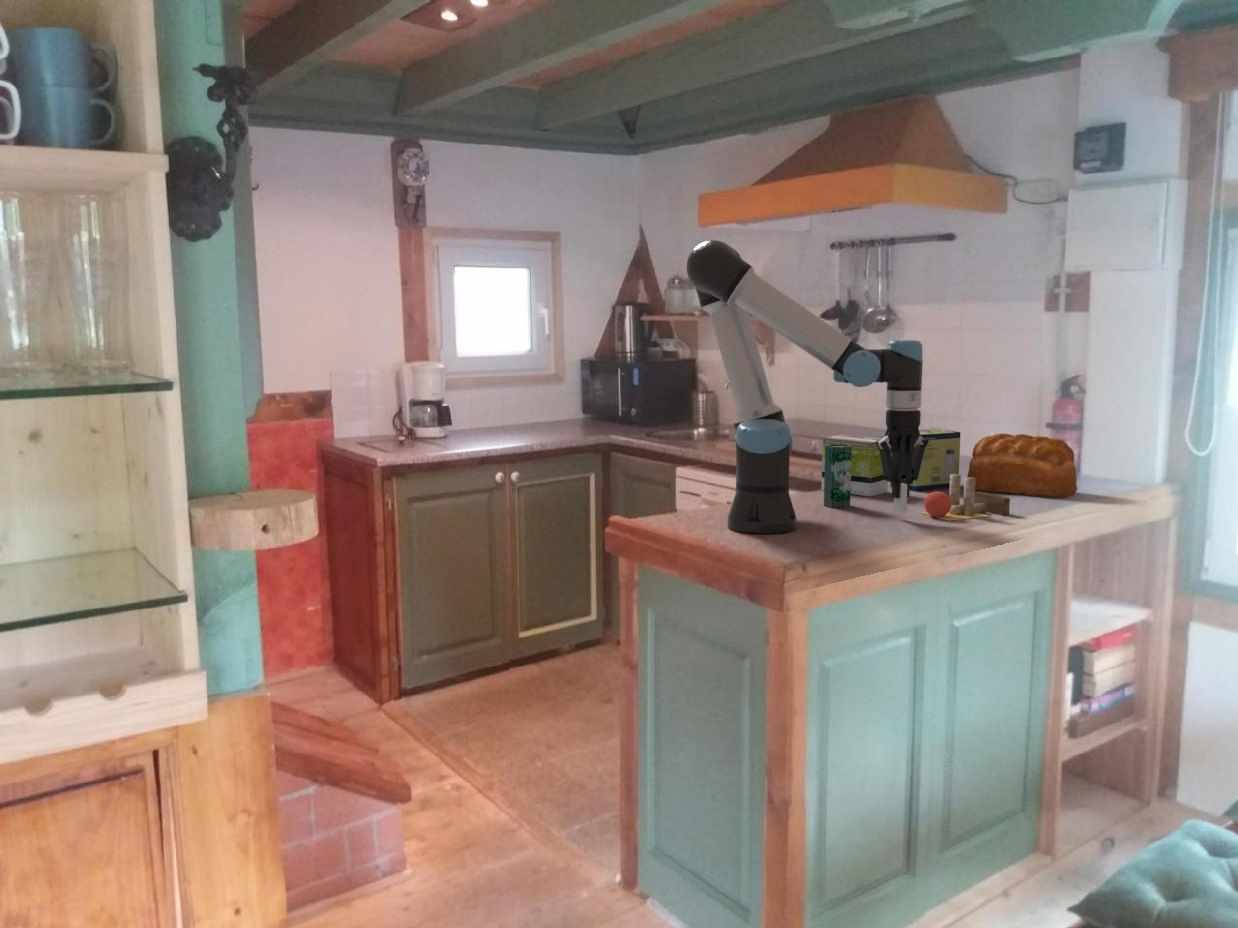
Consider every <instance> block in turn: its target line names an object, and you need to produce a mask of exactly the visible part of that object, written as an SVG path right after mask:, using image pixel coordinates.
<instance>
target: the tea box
mask: <svg viewBox="0 0 1238 928" xmlns="http://www.w3.org/2000/svg"><path fill="white" fill-rule="evenodd" d="M883 438H884V437H881V438H880V437H873V436H863V435H862V436H861V435H850V434H837V435H833V436H827V437H822V450H821V451H822V454H821V455H822V457H821V459H822V461H821V491H824V478H825V445H829V444H845V445H851V446H852V455H851V494H850V495H857V496H862V497H873V496H878V495H882V494H884V493H887V492H888V487H889V482H888V481H885V479H884V474H883V468H882V462H881V457H880V451H879V449H878V447H877V445H876V441H877V440H882V439H883Z"/></svg>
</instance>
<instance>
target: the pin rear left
mask: <svg viewBox="0 0 1238 928" xmlns="http://www.w3.org/2000/svg"><path fill="white" fill-rule="evenodd" d="M961 476H962V475H961V474H959V475H957V474H951V475H950V488H948V489H949V493H948V496H949V498H950V500H951V506H953V505H961V504H960V501H961V500H960V498H961V481H962V480H961V478H962V477H961Z"/></svg>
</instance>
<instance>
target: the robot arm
mask: <svg viewBox="0 0 1238 928" xmlns="http://www.w3.org/2000/svg"><path fill="white" fill-rule="evenodd" d="M686 273H687V277H688V279H689V281H690V283H691V284H692V285H693V286H694V287H695V291H696V294H697V297H698V303H699V304H700V309H702V310H703V311H704V312H706V313H708V314H709V316H710V319H711V323H712V326H713V331H714V335H715V336H716V342H717V345H718V349H719V352H720V355H721V359H722V362H723V366H724V369H725V373H726V376H727V381H728V384H729V387H730V391H731V394H732V395H731V396H732V398H733V402H734V406H735V408H736V412H737V413H736V416H735V418H734V420H733V421H732V422H733V423H732V424H733V426H734V430H735V433H736V434H735V443H736V445H735V446H736V447H735V448H736V449H735V450H736V453H735V456H736V457H735V461H736V462H735V464H736V465H735V468H736V469H735V475H736V476H735V495H734V497H733V501H732V503H731V507H730V509H729V512H728V515H727V528H728V529H730V530H732V531H736V532H741V533H747V534H748V533H749V534H761V535H762V534H763V535H764V534H768V535H769V534H771V535H772V534H782V533H784V534H785V533H789V532H791V531H792V532H793V531H795V530H796V529H797V522H798V521H797V516H796V511H795V509H794V506H793V502H792V499H791V497H790V496H791V495H790V463H791V462H790V459H791V454H792V452H793V437H792V434H791V429H790V426H789V424H788V423H786V419H785V416H784V412H783V409H782V407H780V406H779V405H776V404H775V403H774V401H773V397H772V394H771V390H770V386H769V383H768V379H767V376H766V371H765V369H764V364H763V360H762V358H761V353H760V350H759V348H758V342H757V339H756V336H755V331H754V328H753V326H752V325H753V324H752V321H751V318H750V315H751V316H752V317H754V318H755V319H757V320H758V321H760V322H761V323H762V324H764V325H766V326H767V327H769V328H770V329H772V330H773V331H774V332H776V333H778V334H779V335H781V336H782V337H783V338H785V339H786V340H788V341H789V342H790V343H792V344H793V345H795V346H796V347H797V348H800V349H801V350H802V351H804V352H805V353H807V354H808V355H810V356H811V357H813V358H814V359H816V360H817V361H819V362H820V363H821V364H823V365H824V366H826V367H828V368H829V369H831V370H832V371H833V374H832V378H833V381H834V382H835V383H845V384H851V385H852V386H854V387H857V388H864V387H865V388H866V387H869V386H870V385H872V384H873V383H881V384H882V383H886V399H885V401H886V402H885V407H887V410H886V412H885V425H886V431H885V433H884V437H882V438H883V439H882V440H877V441H876V445H877V447H878V449H879V451H880V457H881V462H882V468H883V474H884V479H885V481H888V483H889V484H891V483H892V486H891V497H892V498H893V512H895V513H899V514H907V510H908V509H907V507H908V506H907V503H908V498H909V497H910V491H911V490H910V484H913V481H914V480H915V481H916V480H917V479H918V475H919V471H920V467H921V462H922V458H923V454H924V450H925V448H926V446H927V444H928V442H929V441H928V439H924V438H923V437H921V436H920V432H919V429H920V428H919V427H920V426H921V416H922V415H921V412H922V411H921V410H920V408H921V407H922V386H923V385H922V381H923V363H924V359H923V343H922V342H921V341H919V340H914V339H913V340H912V339H911V340H910V339H906V340H905V339H903V340H896V339H894V340H889V341H888V343H887V347H886V348H880V349H873V348H872V349H870V348H869V349H868V348H865V347H863V346H862V345H860V344H859V343H857V342H856V341H855V340H853V339H851V338H850V337H848V336H847V335H846V334H843V332H841V331H839V330H838V329H837V328H835V327H834V326H833V325H831V324H829V323H828V322H826V321H825V320H823V319H821V317H819V316H817V315H816V314H814V313H813V312H812V311H811V310H809V309H807V308H806V307H804V306H803V305H801V304H799V302H797V301H795V300H794V299H792V298H790V296H788V295H786V294H785V293H783V292H782V291H780V290H779V289H777V288H776V287H775V286H773V285H772V284H770V283H769V282H768V281H765V280H764V279H763V278H762V277H760V276H758V275H757V274H756V271H755V267H753V266H752V265H751V264H749V263H748V262H747V261H745V260H744V259H742V257H741V255H740V254H739V253H738V251H737V250H736V249H734V247H732V246H730V245H729V244H727V243H725V242H724V241H720V240H717V239H711V240H710V239H709V240H705V241H703V242H701V243H699V244H698V245H696V246H695V247H694V248H693V249H692V250H691V252H690V253H689V255H688V258H687V261H686ZM914 444H915V445H914ZM891 454H892V457H891Z"/></svg>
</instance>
